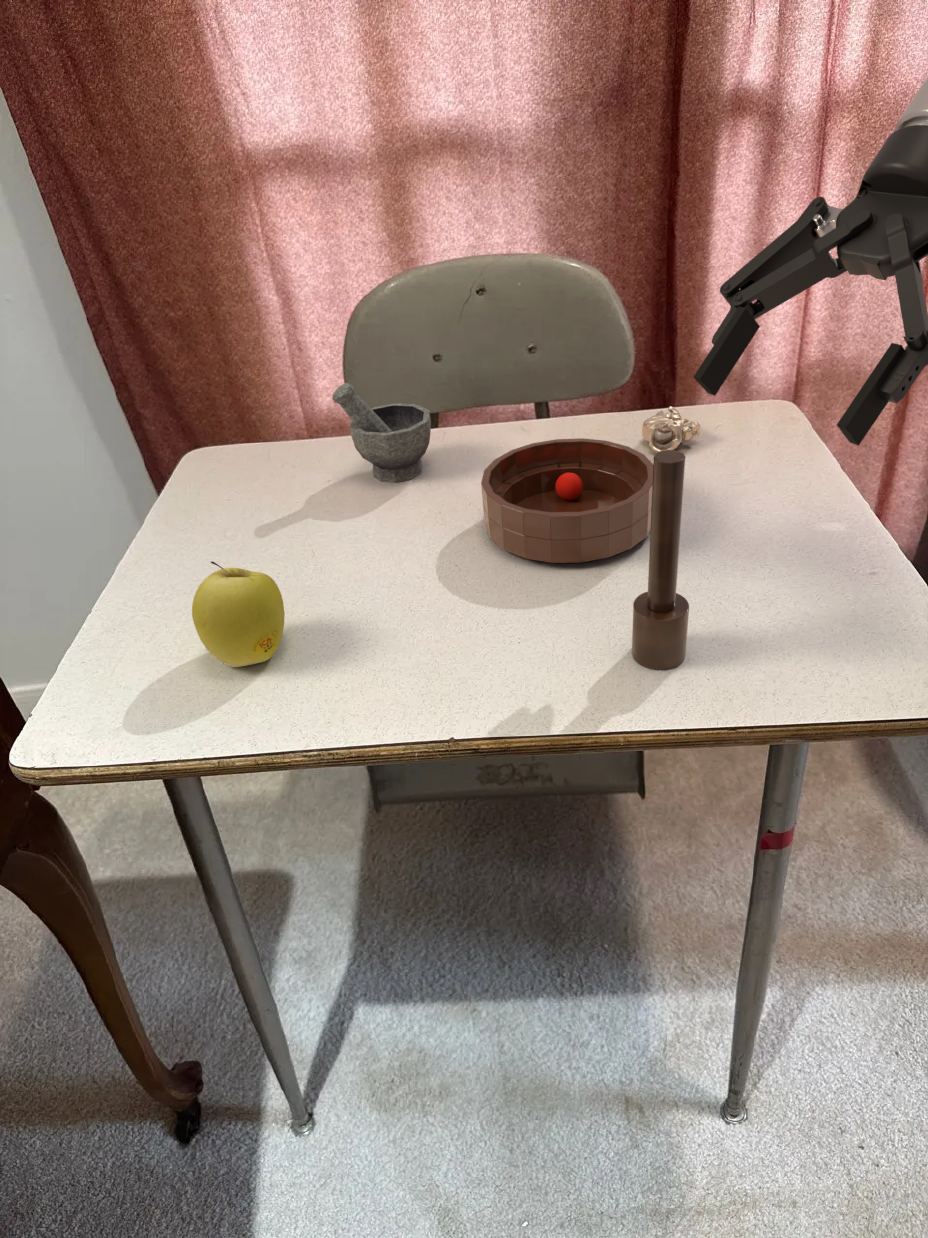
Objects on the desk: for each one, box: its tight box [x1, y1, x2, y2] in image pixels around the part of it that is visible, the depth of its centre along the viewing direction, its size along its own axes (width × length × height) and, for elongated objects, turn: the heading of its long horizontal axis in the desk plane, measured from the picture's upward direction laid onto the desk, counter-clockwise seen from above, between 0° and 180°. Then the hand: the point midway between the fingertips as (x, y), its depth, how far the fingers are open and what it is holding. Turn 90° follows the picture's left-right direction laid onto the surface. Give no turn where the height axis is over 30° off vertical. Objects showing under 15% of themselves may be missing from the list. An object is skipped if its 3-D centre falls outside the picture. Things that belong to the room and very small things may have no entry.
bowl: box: [480, 437, 653, 564], centre depth 87 cm, size 18×18×6 cm
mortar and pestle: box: [332, 382, 432, 483], centre depth 100 cm, size 11×9×12 cm
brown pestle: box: [631, 449, 690, 671], centre depth 65 cm, size 4×4×18 cm
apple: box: [191, 561, 286, 668], centre depth 73 cm, size 8×8×10 cm
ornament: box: [641, 406, 701, 454], centre depth 102 cm, size 8×7×4 cm
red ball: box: [555, 473, 583, 500], centre depth 91 cm, size 3×3×3 cm
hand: (770, 409), depth 64 cm, fingers open, 13 cm apart
